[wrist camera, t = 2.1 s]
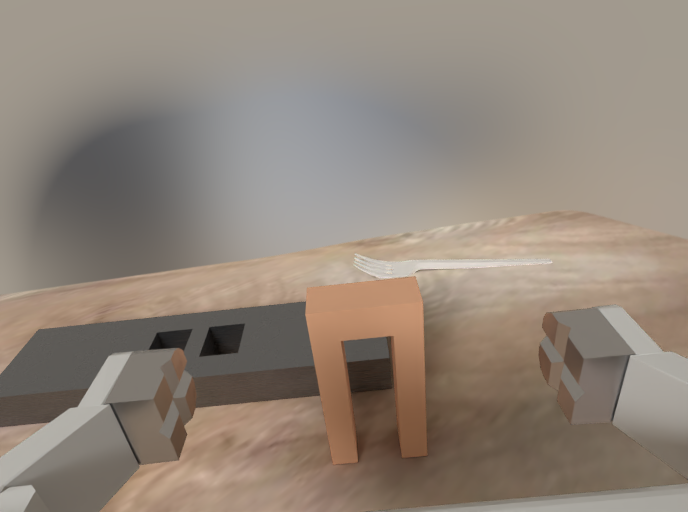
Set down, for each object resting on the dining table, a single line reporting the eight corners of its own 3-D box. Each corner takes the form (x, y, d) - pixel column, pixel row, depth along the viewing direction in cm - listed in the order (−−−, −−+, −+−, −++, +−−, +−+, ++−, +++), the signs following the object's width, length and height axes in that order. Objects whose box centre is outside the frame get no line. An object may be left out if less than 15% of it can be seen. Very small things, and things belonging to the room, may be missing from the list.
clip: (332, 433, 32) (307, 287, 26) (420, 425, 32) (415, 276, 26) (333, 464, 30) (305, 314, 24) (427, 455, 30) (423, 301, 24)
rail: (52, 355, 43) (38, 329, 41) (381, 321, 42) (379, 293, 40) (-1, 427, 36) (-21, 399, 34) (392, 388, 35) (389, 357, 33)
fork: (556, 276, 46) (559, 260, 45) (354, 282, 48) (353, 267, 47) (546, 259, 49) (549, 243, 48) (356, 265, 51) (354, 250, 50)
